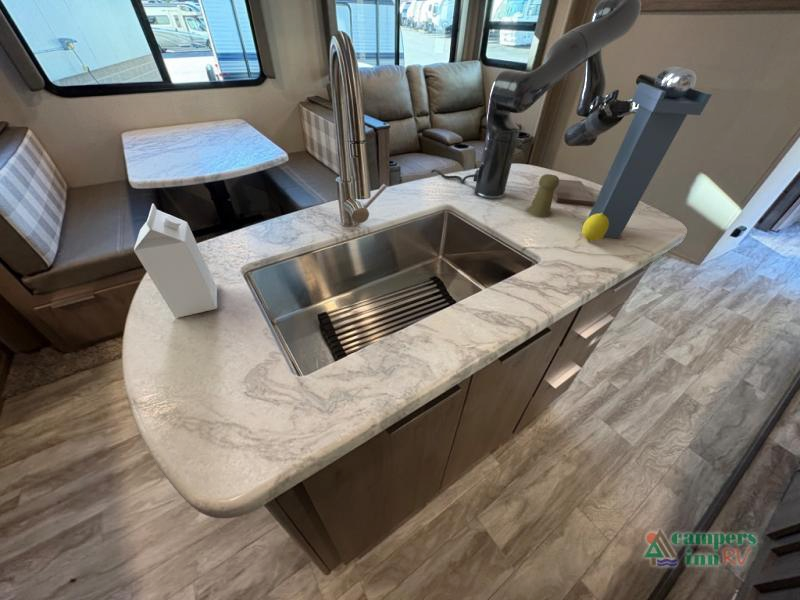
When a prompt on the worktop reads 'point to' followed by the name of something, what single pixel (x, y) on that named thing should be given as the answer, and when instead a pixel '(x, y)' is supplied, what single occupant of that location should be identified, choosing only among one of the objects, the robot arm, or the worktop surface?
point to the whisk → (671, 81)
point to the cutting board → (572, 193)
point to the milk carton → (175, 264)
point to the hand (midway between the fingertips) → (634, 94)
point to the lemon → (595, 227)
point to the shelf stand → (643, 151)
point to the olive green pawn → (544, 196)
